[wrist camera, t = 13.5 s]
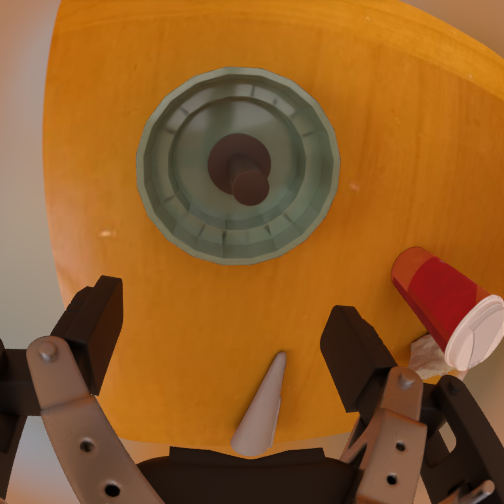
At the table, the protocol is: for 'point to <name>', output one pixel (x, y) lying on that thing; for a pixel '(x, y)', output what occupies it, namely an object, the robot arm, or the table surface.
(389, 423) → the robot arm
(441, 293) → the coffee cup
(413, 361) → the pale crumpled lump
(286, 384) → the table surface
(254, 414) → the long tapered cone
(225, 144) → the brown capped cylinder
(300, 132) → the bowl
